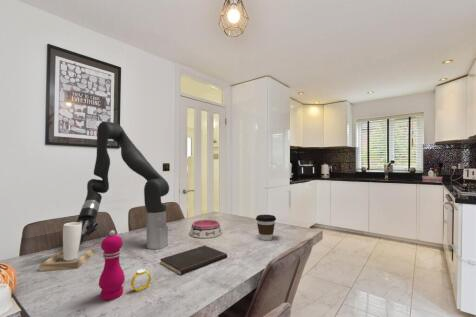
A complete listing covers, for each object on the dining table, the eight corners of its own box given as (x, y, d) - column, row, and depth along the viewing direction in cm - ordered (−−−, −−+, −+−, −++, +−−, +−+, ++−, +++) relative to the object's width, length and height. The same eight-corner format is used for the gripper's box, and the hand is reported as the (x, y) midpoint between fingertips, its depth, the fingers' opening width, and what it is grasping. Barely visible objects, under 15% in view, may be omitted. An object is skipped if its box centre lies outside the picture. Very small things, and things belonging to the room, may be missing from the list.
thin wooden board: (62, 255, 110) (62, 250, 110) (94, 253, 112) (94, 247, 113) (39, 271, 94) (39, 265, 94) (78, 268, 96) (78, 262, 96)
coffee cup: (253, 240, 128) (253, 217, 129) (259, 235, 138) (259, 213, 139) (273, 243, 124) (273, 219, 124) (278, 237, 134) (278, 215, 135)
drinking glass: (68, 262, 101) (71, 226, 102) (57, 260, 103) (59, 224, 104) (83, 257, 108) (85, 223, 108) (72, 255, 110) (74, 221, 110)
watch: (133, 294, 77) (132, 275, 77) (130, 291, 79) (129, 273, 79) (152, 286, 81) (151, 269, 81) (149, 283, 83) (147, 266, 83)
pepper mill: (105, 289, 80) (105, 227, 80) (128, 288, 80) (128, 227, 81) (94, 302, 72) (94, 234, 73) (119, 300, 73) (119, 233, 73)
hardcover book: (159, 264, 100) (159, 258, 100) (204, 250, 117) (204, 245, 117) (181, 277, 89) (181, 270, 89) (227, 259, 105) (227, 253, 106)
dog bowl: (228, 232, 145) (228, 220, 145) (208, 241, 129) (208, 228, 129) (204, 228, 155) (204, 217, 155) (182, 235, 139) (182, 223, 139)
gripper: (72, 207, 120) (59, 240, 107) (101, 206, 122) (92, 238, 110) (77, 216, 125) (65, 248, 113) (105, 214, 127) (96, 246, 115)
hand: (78, 243), depth 111 cm, fingers closed
